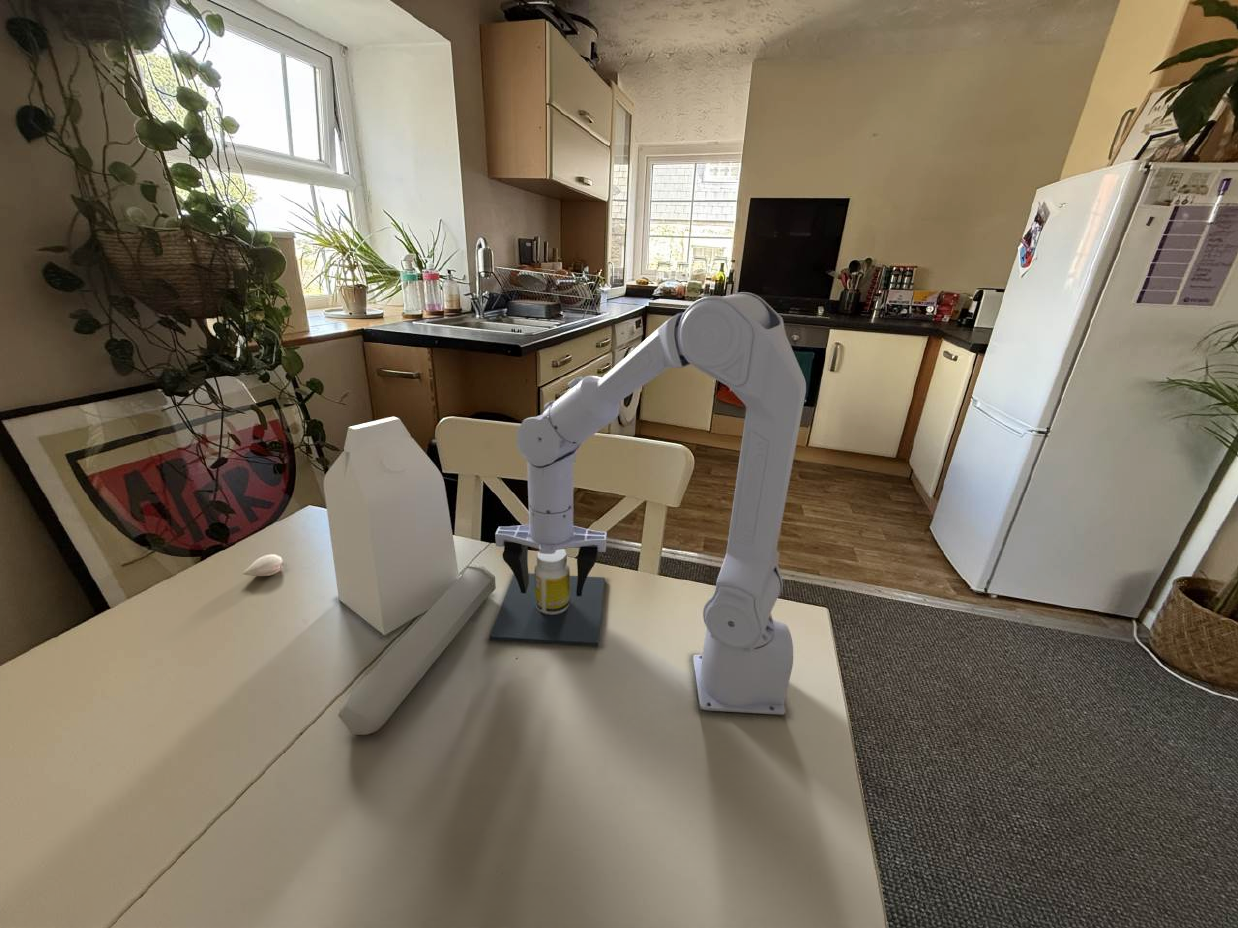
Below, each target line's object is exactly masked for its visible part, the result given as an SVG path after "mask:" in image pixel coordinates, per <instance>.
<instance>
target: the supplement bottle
mask: <svg viewBox="0 0 1238 928" xmlns="http://www.w3.org/2000/svg"><path fill="white" fill-rule="evenodd" d="M534 574H535V597H536V607H537V609H538V610H539V611H540V612H542V613H545V614H550V615H554V614H559V613H562V612H563V611H565V610H566V609H567V608H568V606H569V603H570V576H571V571H570V565H569V563H568V555H567V551H566V549H560V550H556V552H555V553H554V554H542V553H540V552H539V550H538V551H537V553H536V564H535V565H534Z"/></svg>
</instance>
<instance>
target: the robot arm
mask: <svg viewBox="0 0 1238 928" xmlns="http://www.w3.org/2000/svg"><path fill="white" fill-rule="evenodd" d="M688 366H692V367H693V368H696V369H697V370H698V371H700V372H702V373H703V374H705V375H707V376H709V377H711V378H712V379H714V380H716V381H718V382H720V383H721V384H723V385H725V386H727V387H728V389H730V390H731V391H732V393H733V394H734V395H735V396H736V397H737V398H738V399H739V400H740V401H741V402H742V403H743V404H744V406H745V417H744V424H743V431H742V438H741V444H740V445H741V447H740V452H739V459H738V466H737V473H736V480H735V489H734V495H733V502H732V509H731V517H730V518H731V519H730V523H729V531H728V537H727V539H728V540H727V544H726V545H727V546H726V553H725V556H724V558H723V562H722V564H721V567H720V570H719V573H718V576H717V579H716V581H715V588H714V592H713V594H712V595H711V596H710V597H709V599H707V601H706V602H705V604H704V606H703V609H702V610H703V611H702V618H703V622H704V625H705V634H704V635H705V636H704V642H703V647H702V654H694V655H693V656H692V657H693V658H692V661H693V668H694V675H695V676H694V677H695V682H696V690H697V696H698V705H699V708H700V709H701V710H703V711H712V712H727V713H729V712H731V713H747V714H763V715H764V714H765V715H780V716H781V715H782V716H783V715H785V713H786V707H785V701H786V696H787V692H788V688H789V683H790V680H791V675H792V671H793V665H794V644H793V637H792V634H791V631H790V629H789V626H788V625H787V624H786V623H785V622H782V621H779V620H775V619H774V618H773V615H772V611H773V609H774V607H775V605H776V603H777V600H778V599H779V597H780V596H781V593H782V591H783V587H784V581H783V577H782V574H781V572H780V567H779V560H780V557H781V556H780V552H779V551H778V545H779V540H780V534H781V528H782V523H783V518H784V512H785V506H786V501H787V496H788V491H789V486H790V480H791V476H792V475H791V474H792V470H793V464H794V458H795V454H796V447H797V442H798V436H799V432H800V425H801V420H802V415H803V411H804V404H805V399H806V393H807V382H806V378H805V376H804V374H803V371H802V369H801V367H800V364H799V362H798V359H797V357H796V355H795V353H794V350H793V348H792V345H791V343H790V341H789V339H788V336H787V333H786V329H785V324H784V319H783V317H782V316H781V315H780V314H779V313H778V312H777V311H776V310H774V308H772V306H771V305H769V303H767V302H766V300H764V299H763V298H762V297H761V296H759V295H757V294H755V293H752V292H746V291H740V292H735V293H731V294H730V295H723V296H720V295H708V296H705V297H702V298H699V299H697V300H695V301H694V302H693V303H691V304H690V305H689V306H688V307H687V308H686V309H685V311H684V312H678V313H676V314H675V315H673V316H671V317H670V318H668V319H667V320H666V321H664V322H663V323H662V324H661V325H660V326H659V327H658V328H657V329H655V330H654V331H653V332H652V333H651V334H650V335H648V336H647V337H646V338H645V339H644V340H643V341H642V342H640V344H639V345H637V346H636V347H635V348H634V349H633V350H631V351H630V352H629V353H628V354H627V355H626V356H625V357H624V358H622V360H620V361H619V362H618V363H617V364H616V365H615V366H613V368H611V369H610V370H609V371H608V372H607V373H606V374H604V375H603V376H602V377H600V376H596V375H587V376H584V377H583V376H578V377H575V378H573V379H572V380H571V381H569V382H568V383H567V386H568V388H569V390H567V391H566V392H565V393H564V394H562V395H561V396H560V397H559V398H557V399H556V400H550V401H548V402H547V403H545V404H544V406H543V409H544V411H543V412H542V414H540V415H537V416H531V417H527V418H525V419H523V420H522V422H521V424H520V425H519V426H518V428H517V430H516V433H515V442H516V447H517V449H518V451H519V453H520V455H521V457H522V458H523V459H524V460H525V461H526V467H527V471H526V472H527V496H528V498H527V500H528V501H527V502H528V524H521V525H510V526H498V528H497V529H496V531H495V534H494V537H495V546H496V547H501V548H502V547H503V551H502V560H503V561H504V563H505V564H506V565H507V566H508V567H509V569H510V571H512V573H513V575H515V577H516V579H517V582H518V584H519V587H520V591H521V593H526V591H527V588H528V585H529V565H528V564H529V563H528V561H529V557H528V555H529V552H528V551H529V547H530V548H533V549H538V551H539V552H540V553H542V554H554V553H555V552H556V550H560V549H564V550H566V549H572V548H573V549H578V553H577V558H576V566H577V567H576V570H577V576H578V581H577V590H576V595H577V596H582V591H583V586H584V583H585V580H586V578H587V577H589V574H590V572H591V571H592V569H593V568H594V566H595V564H596V562H597V559H598V552H599V553H606V552H607V551H606V550H607V539H608V536H607V534H608V533H607V532H606V531H598V530H593V529H589V528H584V527H580V526H576V525H574V475H575V474H574V472H575V471H574V469H575V468H574V467H575V466H574V465H575V463H576V455H577V451H578V450H579V449H580V448H581V447H582V445H583V443H584V442H585V441H587V440H588V439H590V438H591V437H593V436H594V435H595V434H597V433H598V432H599V431H601V430H603V429H604V428H605V427H607V426H608V425H610V424H611V423H613V422H614V421H615V420H616V419H617V418H618V417H619V414H620V412H621V402H622V400H624V399H627V397H629V396H630V395H632V394H633V393H635V392H636V391H638V390H639V389H640V388H642V387H644V386H645V385H646V384H648V383H649V382H651V381H652V380H653V379H656V377H658V376H659V375H661V374H662V373H664V372H666V371H667V370H668V369H670V368H672V369H673V368H674V369H683V368H686V367H688Z"/></svg>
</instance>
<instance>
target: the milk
mask: <svg viewBox="0 0 1238 928" xmlns="http://www.w3.org/2000/svg"><path fill="white" fill-rule="evenodd" d="M343 450H344V451H342V452H341V453H340V455H338V457H337V458H336V460H335V461H334V463H332V464H331V466H330V467H329V468H328V470H327V472H326V473H325V474H324V478H323V493H324V499H325V506H326V515H327V522H328V528H329V536H330V543H331V550H332V559H333V567H334V573H335V582H336V588H337V589H336V590H337V596H338V600H339V601H340V602H342V603H343V604H344V605H345V606H347V607H348V608H349V609H351V610H352V611H353V612H355V614H356V615H358V616H359V617H361V619H363V620H365V621H366V622H367V623H368V624H369V625H371V626H372V627H373V628H374V629H376V630H377V631H379V632H380V633H381V634H382V635H383V636H387V635H388V634H389V633H391V632H392V631H395V630H397V628H400V627H401V626H403V625H405V624H407V623H408V622H410V621H412V620H413V619H415V618H416V617H418V616H420V615H422V614H424V613H425V612H428V610H429V609H430V608H431V607H432V606H433V605H434V604H435V603H436V602H437V601H438V600H439V599H440V598H441V597H442V596H443V595H444V594H445V592H446V591H447V590H448V589H449V588H450V587H451V586H452V585H453V584H454V583H455V582H456V581H457V580H458V579H459V578H460V571H459V567H458V559H457V554H456V547H455V542H454V541H455V540H454V534H453V529H452V521H451V516H450V509H449V503H448V497H447V491H446V485H445V481H444V477H443V475H442V472H441V471H440V470H439V468H438V467H437V465H436V464H435V462H433V460H431V458H430V457H429V455H427V453H426V452H425V451H424V450H423V449H422V447H421V446H420V445H419V444H418V442H417V441H416V440H415V439H414V437H412V435H411V434H410V432H409V431H408V429H407V427H406V426H405V424H404V423H403V422H402V420H401V418H399V417H396V416H394V415H393V416H390V417H384V418H381V419H377V420H373V421H368V422H364V423H359V424H356V425H352V426H348V428H347V432H346V437H345V441H344V445H343Z"/></svg>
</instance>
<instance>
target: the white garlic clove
mask: <svg viewBox="0 0 1238 928" xmlns="http://www.w3.org/2000/svg"><path fill="white" fill-rule="evenodd" d="M283 568H284V563H283V558H282V556H280V555H277V554H272V553H271V554H266V555H262V556H261V557H258V558H257V559H255V561H253V562H252V563H251V564H250V565H249V566H248V567H247V568H246V569H245V570H244V571H243V575H244V576H251V577H269V576H273V575H275V574H277V573H279V572H281V570H283Z"/></svg>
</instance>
